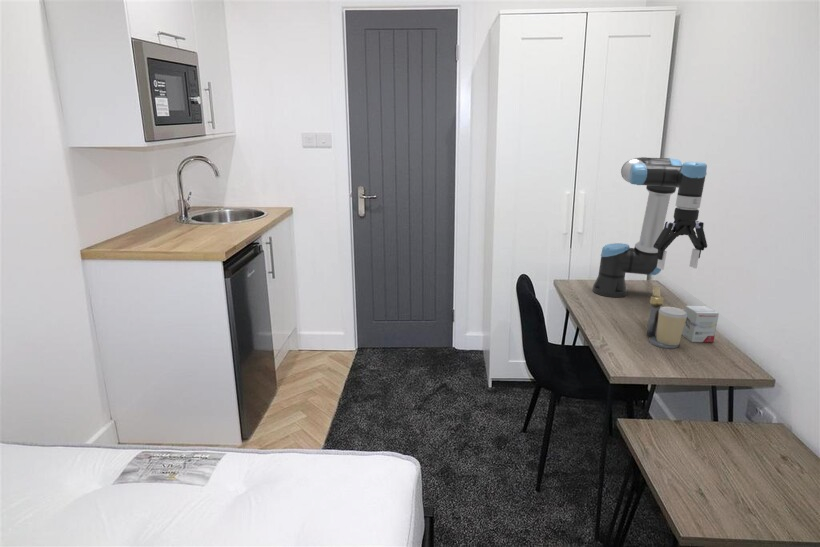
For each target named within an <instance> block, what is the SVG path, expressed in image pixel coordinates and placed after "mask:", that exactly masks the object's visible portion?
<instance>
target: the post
mask: <svg viewBox="0 0 820 547" xmlns="http://www.w3.org/2000/svg"><path fill="white" fill-rule="evenodd" d="M661 307H662V306H655V305H652V304H650V311H649V317H648V323H647V329H646V334H645V335H646V337H648V336H650V337H653V336H657V326H658V316H659V309H660V308H661ZM650 337H649V338H650Z"/></svg>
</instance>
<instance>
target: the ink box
mask: <svg viewBox="0 0 820 547" xmlns="http://www.w3.org/2000/svg"><path fill="white" fill-rule="evenodd" d="M684 307H685V308H684V311H686V313H687V317H686V320H685V324H684V328H683V331H682V335H681V336H683V337H684V338H686V339H687V340H688V341H690V342H691V343H714V341H715V336H716V331H717V325H718V320H719V319H718V318H719V314H720V313H719V312H717V311H716V310H715V309H712V308H710V307H709V306H707V305H685V306H684Z"/></svg>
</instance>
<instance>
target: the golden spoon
mask: <svg viewBox="0 0 820 547" xmlns="http://www.w3.org/2000/svg"><path fill="white" fill-rule="evenodd" d="M651 292H652V295H651V296H650V301H649V304H650V305H651V304H652V305H655V306H661V307H663V304H664V300H665V299H664V297H663V296H661V287H660V286H652V291H651Z"/></svg>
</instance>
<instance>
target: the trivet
mask: <svg viewBox="0 0 820 547" xmlns="http://www.w3.org/2000/svg"><path fill="white" fill-rule="evenodd" d="M656 338H657V335H656V336H653V337H649V338H648V342H649V343H650V344H651V345H653V346H654V347H655V346H656V347H658V348H661V349H668V350H669V349H671V350H672V349H677V348H678V347H679V345H680V343H679V344H678V345H666V344H663V343H660V342H658V341H657V339H656Z"/></svg>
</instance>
